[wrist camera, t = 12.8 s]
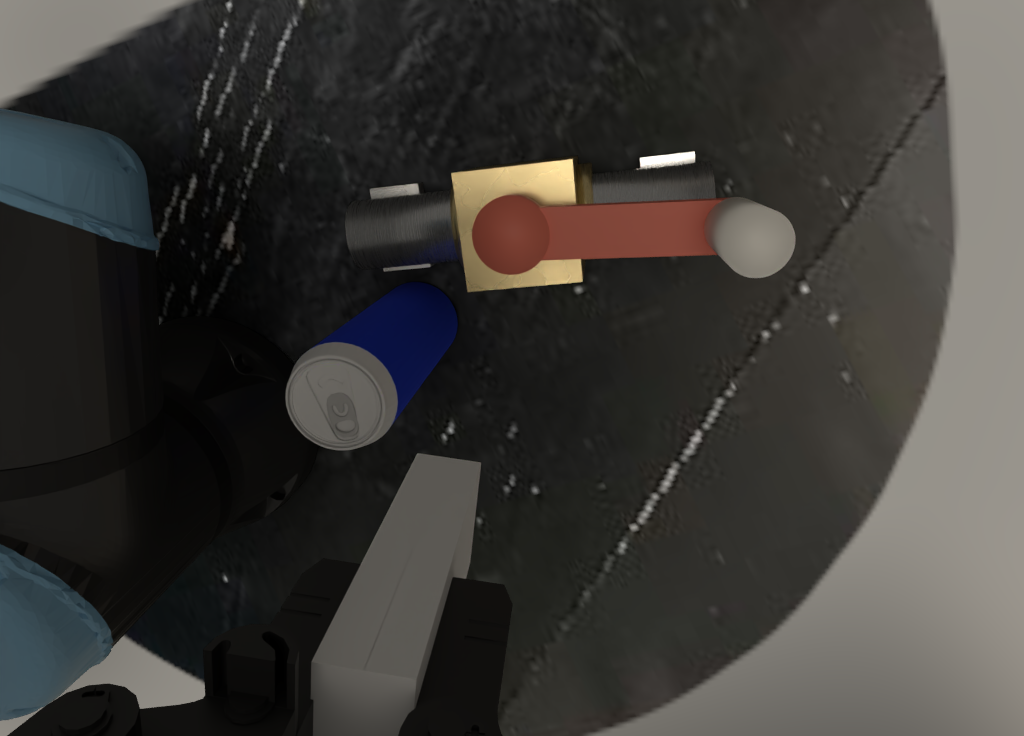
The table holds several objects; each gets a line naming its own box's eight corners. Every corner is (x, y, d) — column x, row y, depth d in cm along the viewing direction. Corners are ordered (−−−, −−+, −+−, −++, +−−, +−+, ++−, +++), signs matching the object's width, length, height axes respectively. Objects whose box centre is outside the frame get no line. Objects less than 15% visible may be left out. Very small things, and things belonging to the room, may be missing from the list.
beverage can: (372, 289, 44) (262, 360, 30) (447, 272, 43) (371, 338, 29) (395, 363, 45) (301, 465, 31) (468, 348, 44) (405, 446, 30)
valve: (383, 276, 43) (331, 309, 35) (366, 180, 41) (307, 190, 33) (703, 246, 40) (729, 274, 32) (700, 140, 38) (727, 141, 30)
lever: (479, 271, 33) (453, 298, 27) (473, 195, 32) (446, 207, 26) (757, 262, 31) (791, 290, 26) (762, 182, 30) (799, 192, 24)
